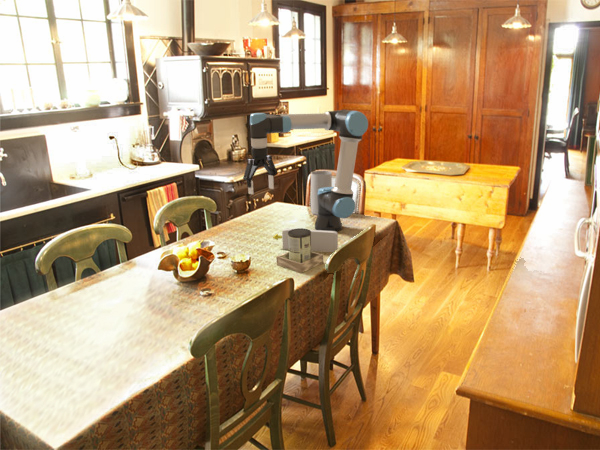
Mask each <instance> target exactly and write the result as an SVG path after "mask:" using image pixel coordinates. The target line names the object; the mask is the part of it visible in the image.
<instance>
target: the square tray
mask: <svg viewBox="0 0 600 450" xmlns="http://www.w3.org/2000/svg"><path fill="white" fill-rule="evenodd" d="M275 257H276V258H275V259H276V266H280V267H283V268H285V269H288V270H291V271H294V272H297V273H300V272H301V274H303V273H305V272H306V271H309V270H311V269H313V268H316V267H317V266H321V265H322V264H323V263H324V254H322V253H319V252H317V251H311V259H310V260H307V261H305V262H303V263H299V262H296V261H292V260H289V251H287V252H284V253H283V254H282V253H281V254H280V255H276V256H275ZM304 271H305V272H304ZM302 272H303V273H302Z"/></svg>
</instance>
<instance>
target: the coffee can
mask: <svg viewBox="0 0 600 450" xmlns="http://www.w3.org/2000/svg"><path fill="white" fill-rule="evenodd" d="M291 229H292V230H290V231H288V240H289V249H288V252H289V260H292V261H296V262H299V263H303V262H305V261H307V260H310V259H311V231H310V230H311V229H308V228H291Z"/></svg>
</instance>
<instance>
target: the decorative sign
mask: <svg viewBox="0 0 600 450" xmlns="http://www.w3.org/2000/svg"><path fill="white" fill-rule="evenodd" d="M292 229H293V228H284V229H283V230H282V231H281V232H282V233H281V234H282V235H279V233H276V234H275V235H273V236H272V239H275V240H276V241H279V240H281V239H282V249H284V250H289V240H288V231H290V230H292ZM309 230H310V231H311V251H312V252H324V253H335V252H334V251H335V250H337V249H338V248H339V234H338V233H339V232H338V231H336V232H335V231H323V230H316V229H309ZM337 251H338V250H337Z"/></svg>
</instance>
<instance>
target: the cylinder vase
mask: <svg viewBox="0 0 600 450" xmlns="http://www.w3.org/2000/svg"><path fill="white" fill-rule="evenodd" d="M332 174H333V172H332V171H330V170H314V171H311V172H310V205H311V208H310V209H311V211H310V212H311V214H313V215H315V216H318V196H317V194H318V189H320V188H324V187H333V185H332V182H333V181H332V178H333V177H332Z"/></svg>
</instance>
